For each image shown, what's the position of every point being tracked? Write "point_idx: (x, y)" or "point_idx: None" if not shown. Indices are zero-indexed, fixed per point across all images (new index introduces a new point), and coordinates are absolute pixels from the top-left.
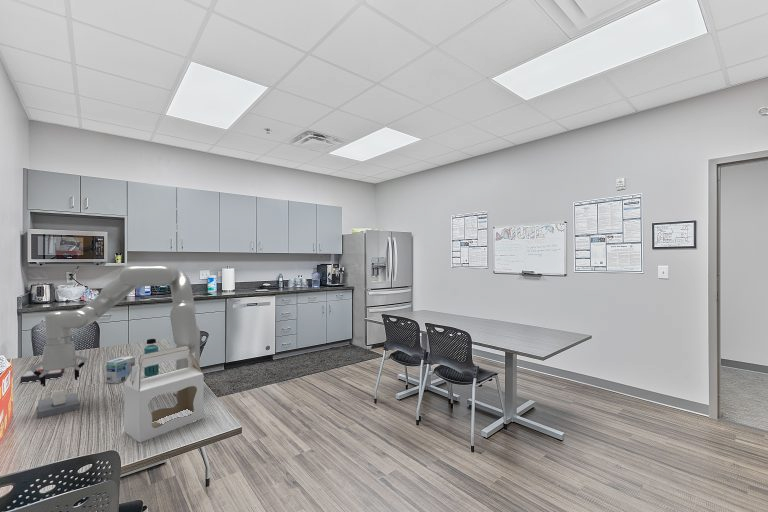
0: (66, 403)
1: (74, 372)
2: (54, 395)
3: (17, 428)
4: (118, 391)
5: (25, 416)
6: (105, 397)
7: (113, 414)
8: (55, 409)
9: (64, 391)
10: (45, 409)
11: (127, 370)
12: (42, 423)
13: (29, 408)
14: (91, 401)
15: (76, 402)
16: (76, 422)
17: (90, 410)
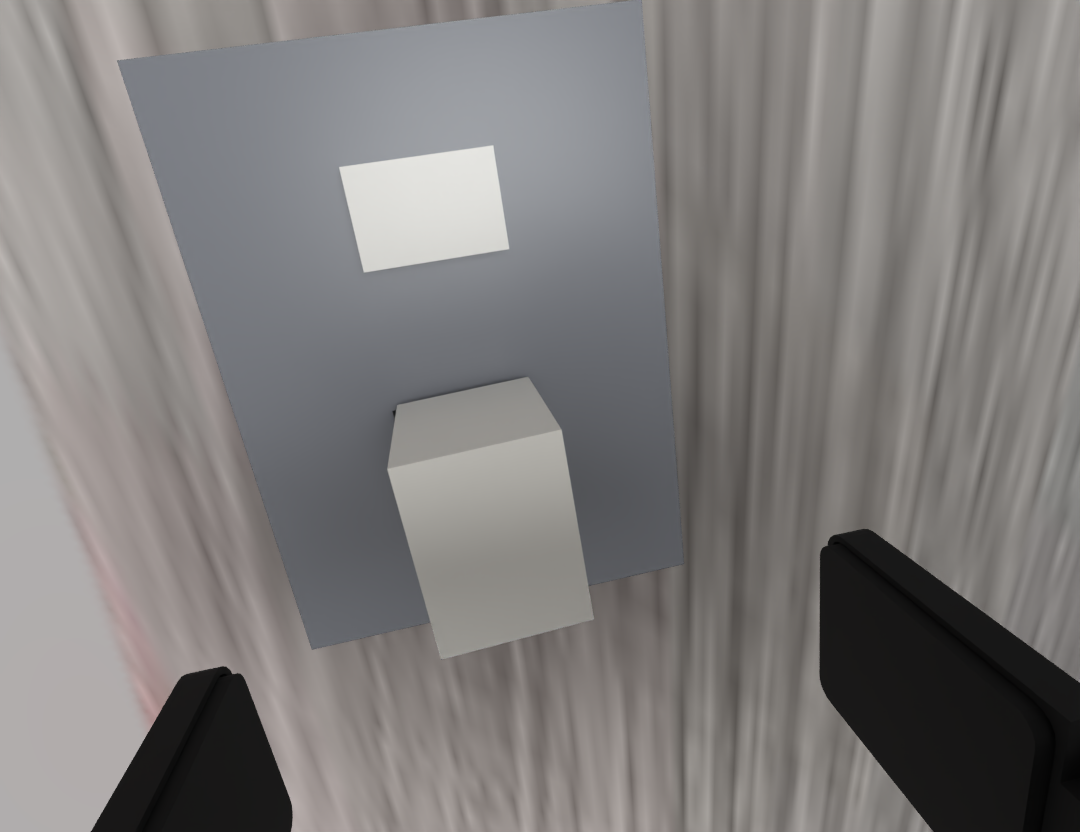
0: None
1: (950, 683)
2: (454, 644)
3: None
4: (1051, 108)
5: (149, 451)
6: (899, 277)
7: (873, 790)
8: None
9: (577, 569)
10: (369, 598)
11: None
12: (403, 740)
13: (54, 100)
14: (766, 335)
15: (660, 532)
16: (650, 828)
17: (744, 621)
